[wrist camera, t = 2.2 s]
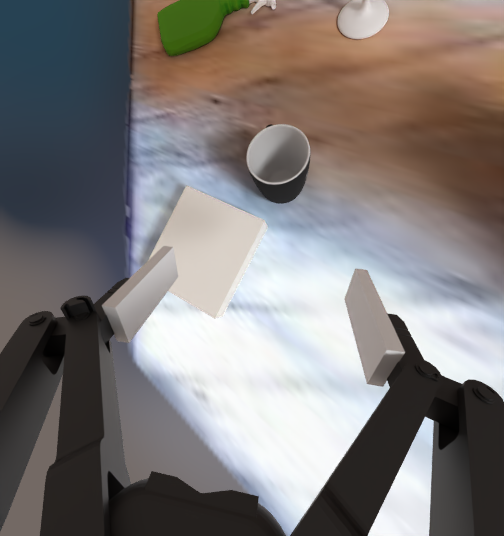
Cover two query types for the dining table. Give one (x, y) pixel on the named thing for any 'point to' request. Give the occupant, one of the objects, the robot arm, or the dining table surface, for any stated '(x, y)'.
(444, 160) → the dining table surface
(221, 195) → the dining table surface
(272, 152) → the mug
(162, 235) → the flat plate
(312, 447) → the dining table surface
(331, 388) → the dining table surface
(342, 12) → the wineglass
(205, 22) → the spray bottle
